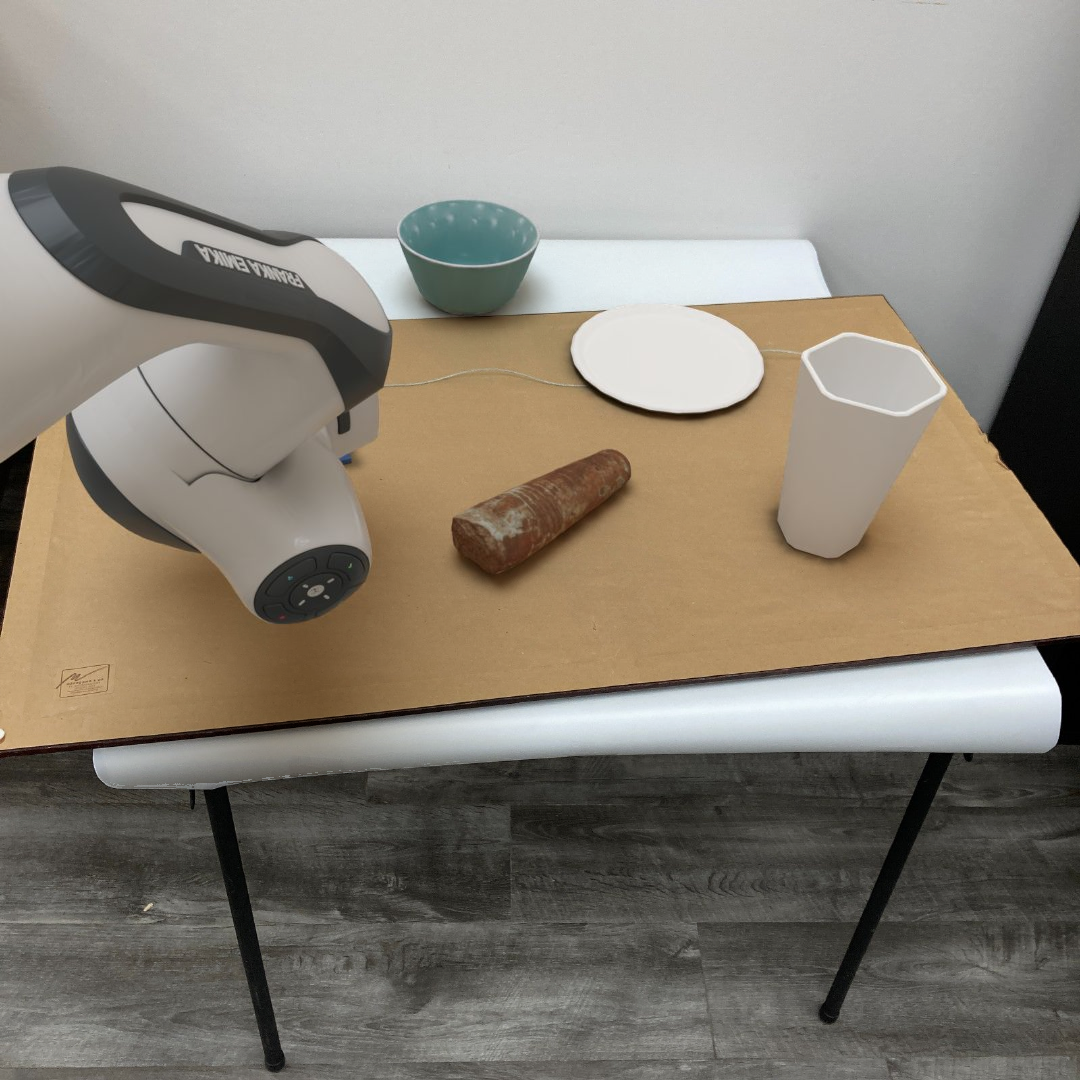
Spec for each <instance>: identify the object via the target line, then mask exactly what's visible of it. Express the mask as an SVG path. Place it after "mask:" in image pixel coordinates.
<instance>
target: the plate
mask: <svg viewBox="0 0 1080 1080" xmlns="http://www.w3.org/2000/svg"><path fill="white" fill-rule="evenodd" d="M570 345H571V346H570V354H571V358H572V362H573V365H574V367H575V369H576V370H577V371H578V373H579V374H580V375H581V377H582V378H583V379H584V381H585V382H587V383H588V384H589V385H590V386H591V387H593V388H594V389H596V390H597V391H598V392H600V393H601V394H603V395H604V396H607V397H609V398H611V399H613V400H615V401H617V402H618V403H621V404H623V405H626V406H629V407H633V408H637V409H641V410H644V411H647V412H652V413H660V414H668V415H675V416H676V415H678V416H679V415H703V414H706V413H711V412H716V411H722V410H726V409H728V408H730V407H732V406H735V405H736V404H738V403H741V402H743V401H746V399H747V398H749V397H750V396H751V395H752V394H753V393H754V392H755V391H756V390H757V389H758V388H759V386H760V385H761V381H762V379H763V377H764V374H765V366H764V364H765V363H764V357H763V356H762V353H761V352H760V350H759V348H758V346H757V345H756V342H754V341H753V340H752V339H751V338H750V337H749V336H748V335H747V334H746V333H745V332H744V331H743V330H742V329H740V328H738V327H737V326H736V325H734V324H733V323H731V322H730V321H728V320H726V319H724V318H722V317H719V316H716V315H714V314H712V313H710V312H707V311H704V310H701V309H696V308H692V307H688V306H685V305H678V304H671V303H664V302H663V303H661V302H650V303H649V302H647V303H646V302H645V303H642V302H641V303H632V304H625V305H621V306H615V307H611V308H609V309H607V310H604V311H601V312H599V313H596V314H594V316H592V317H591V318H589V319H587V320H586V321H584V322H583V323H582V324H581V325H580V326H579V328H578V329H577V330H576V331H575V333H574V334H573V336H572V340H571V344H570Z"/></svg>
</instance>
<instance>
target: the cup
mask: <svg viewBox="0 0 1080 1080" xmlns="http://www.w3.org/2000/svg"><path fill="white" fill-rule="evenodd" d="M799 363H800V364H799V369H798V375H797V383H796V389H795V396H794V401H793V402H794V403H793V410H792V417H791V424H790V430H789V438H788V444H787V451H786V457H785V465H784V470H783V477H782V485H781V492H780V499H779V504H778V505H779V506H778V511H777V519H776V522H777V524H778V526H779V528H780V530H781V532H782V534H783V537H784V538H785V541H786V543H787V544H789V545H790V546H791V547H792V548H794V550H795V549H796V550H799V551H802V552H805V553H808V554H811V555H815V556H818V557H821V558H824V559H837V558H839V557H841V556H843V555H844V554H846V553H847V552H849V551H850V550H852V549H853V548H855V547H856V546H858V545H859V543H860V542H861V541H862V539H863V538H864V536H865V534H866V532H867V530H868V528H869V527H870V525H871V524H872V522H873V520H874V518H875V517H876V515H877V513H878V511H879V510H880V509H881V507H882V505H883V503H884V501H885V500H886V498H887V497H888V494H889V493H890V491H891V489H892V488H893V486H894V485H895V483H896V481H897V479H898V478H899V476H900V474H901V472H902V471H903V470H904V467H905V466H906V464H907V462H908V461H909V459H910V457H911V456H912V454H913V452H914V450H915V449H916V447H917V445H918V444H919V442H920V440H921V439H922V437H923V436H924V434H925V432H926V430H927V428H928V427H929V425H930V423H931V422H932V420H933V418H934V416H935V415H936V413H937V412H938V410H939V408H940V407H941V405H942V403H943V401H944V399H945V398H946V396H947V392H948V387H947V385H946V384H945V383H944V381H943V380H942V378H941V377H940V376H939V374H938V373H937V372H936V371H935V369H934V368H933V366H932V365H931V364H930V362H929V361H928V360H927V359H926V357H925V355H923V353H922V351H920V350H918V349H917V348H915V347H913V346H910V345H906V344H901V343H897V342H894V341H889V340H885V339H882V338H878V337H875V336H874V337H873V336H869V335H866V334H861V333H857V332H852V331H851V332H842V333H839V334H837V335H836V336H833V337H831V338H829V339H826V340H824V341H822V342H820V343H818V344H816V345H814V346H812V347H809V348H807V349H805V350H803V352H802V353H801V356H800V361H799Z"/></svg>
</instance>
